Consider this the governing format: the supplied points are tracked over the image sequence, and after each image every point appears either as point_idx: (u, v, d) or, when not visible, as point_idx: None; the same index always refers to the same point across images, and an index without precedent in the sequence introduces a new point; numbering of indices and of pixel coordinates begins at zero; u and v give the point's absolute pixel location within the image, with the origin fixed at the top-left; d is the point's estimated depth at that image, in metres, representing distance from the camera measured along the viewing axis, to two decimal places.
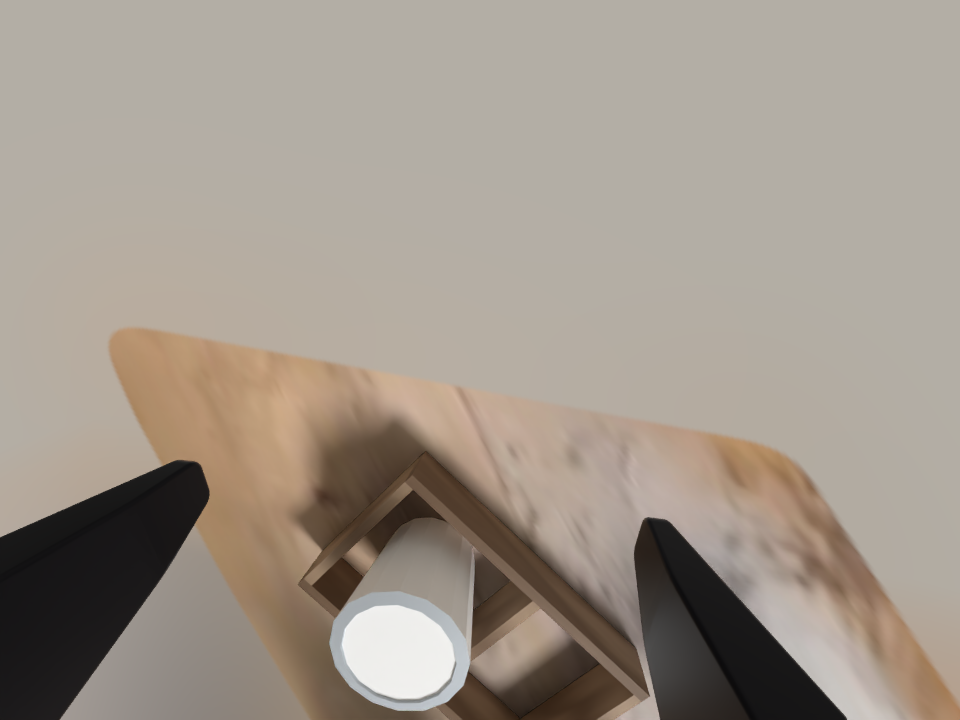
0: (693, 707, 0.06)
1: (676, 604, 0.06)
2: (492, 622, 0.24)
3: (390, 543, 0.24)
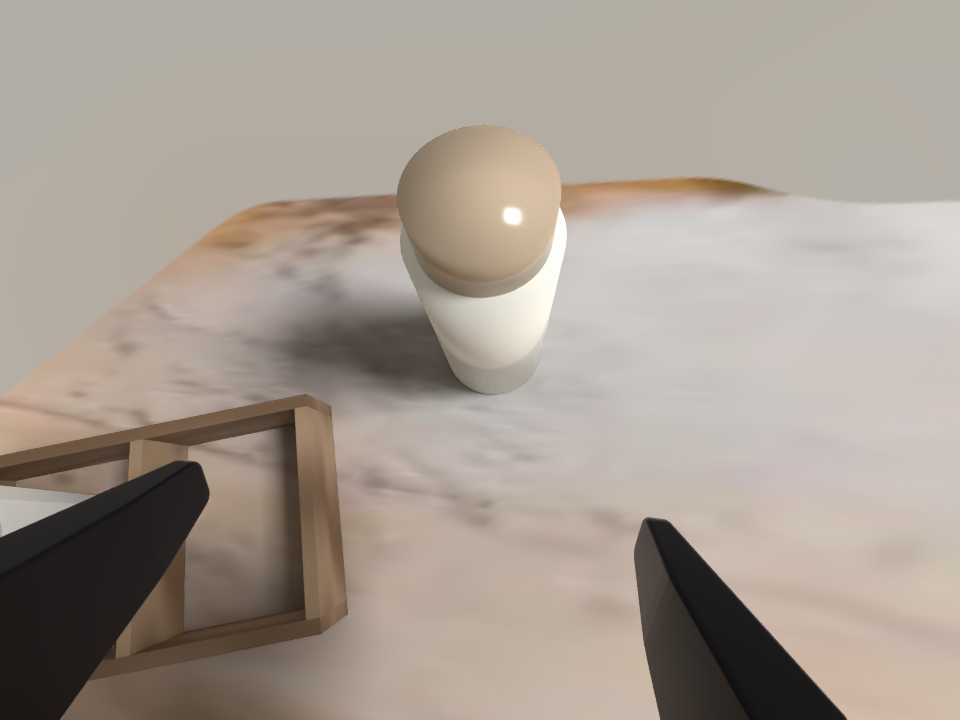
0: (693, 707, 0.06)
1: (676, 604, 0.06)
2: None
3: None
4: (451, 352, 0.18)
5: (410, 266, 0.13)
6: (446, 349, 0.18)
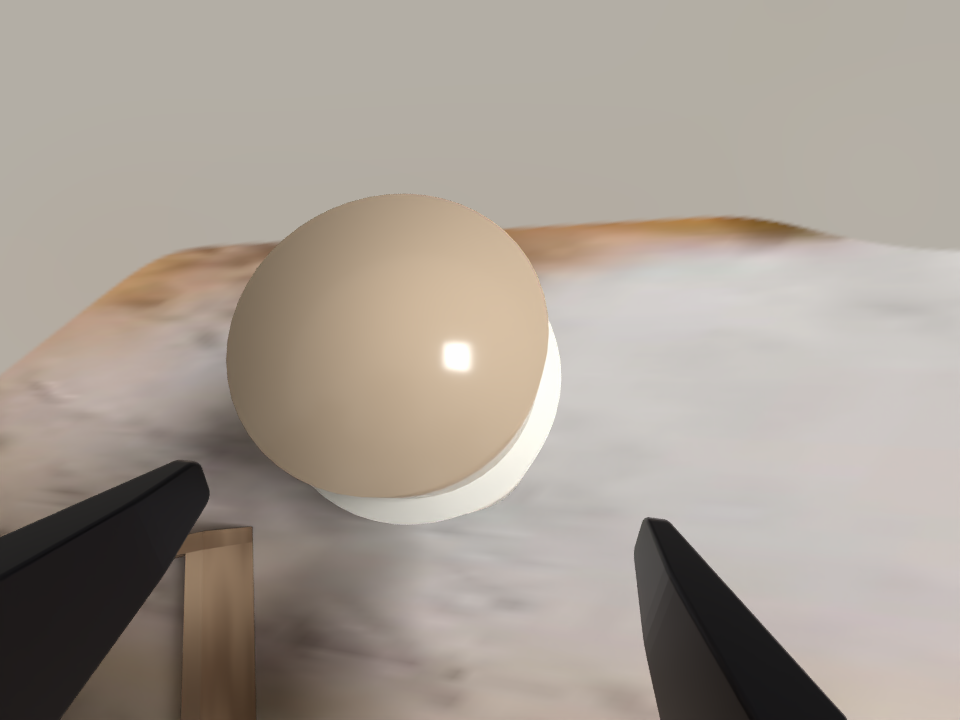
0: (693, 707, 0.06)
1: (676, 604, 0.06)
2: None
3: None
4: None
5: None
6: None
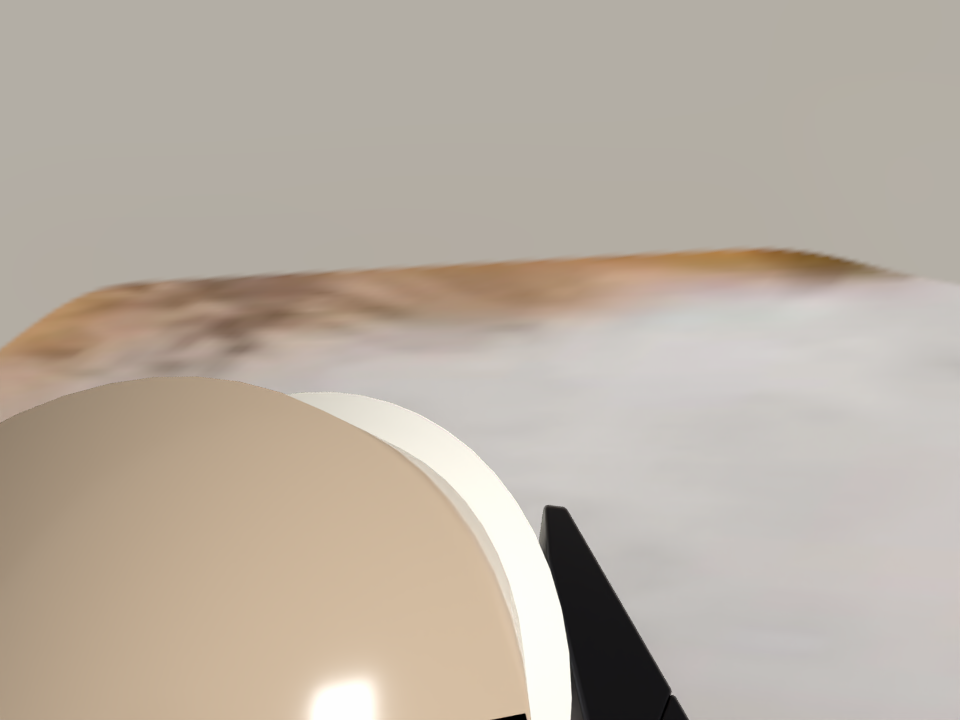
0: None
1: None
2: None
3: None
4: None
5: None
6: None
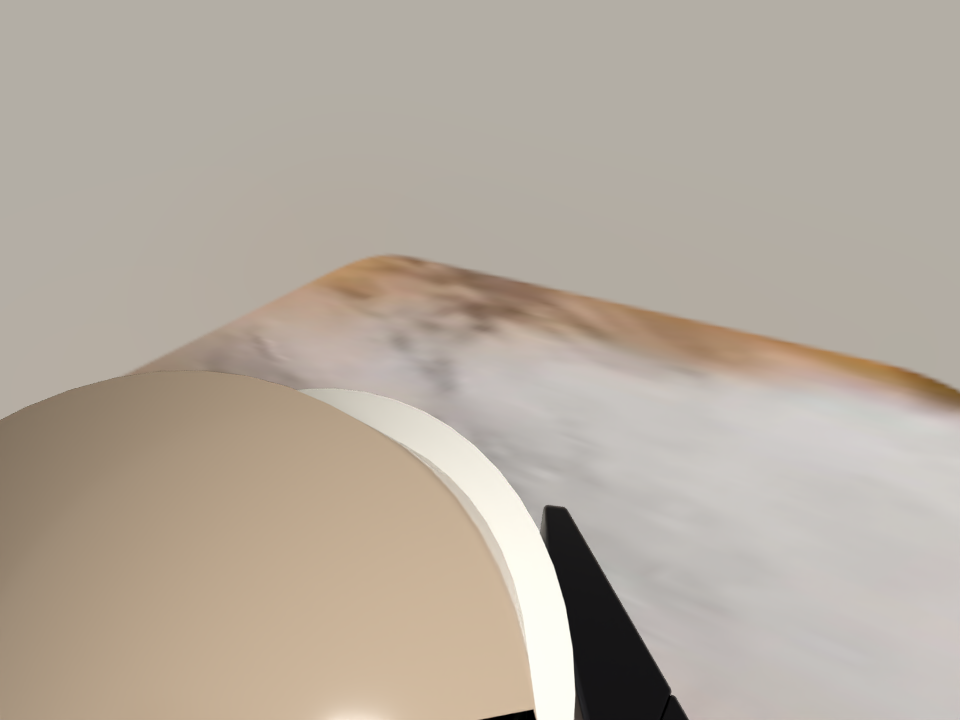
0: None
1: None
2: None
3: None
4: None
5: None
6: None
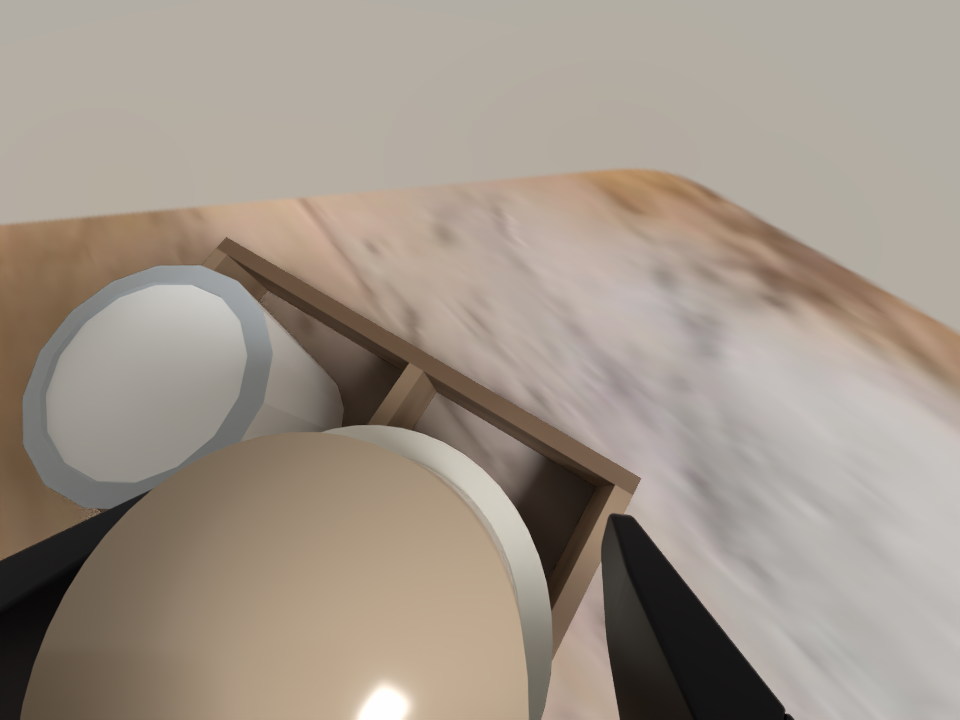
0: (644, 699, 0.06)
1: (632, 598, 0.06)
2: None
3: None
4: None
5: None
6: None
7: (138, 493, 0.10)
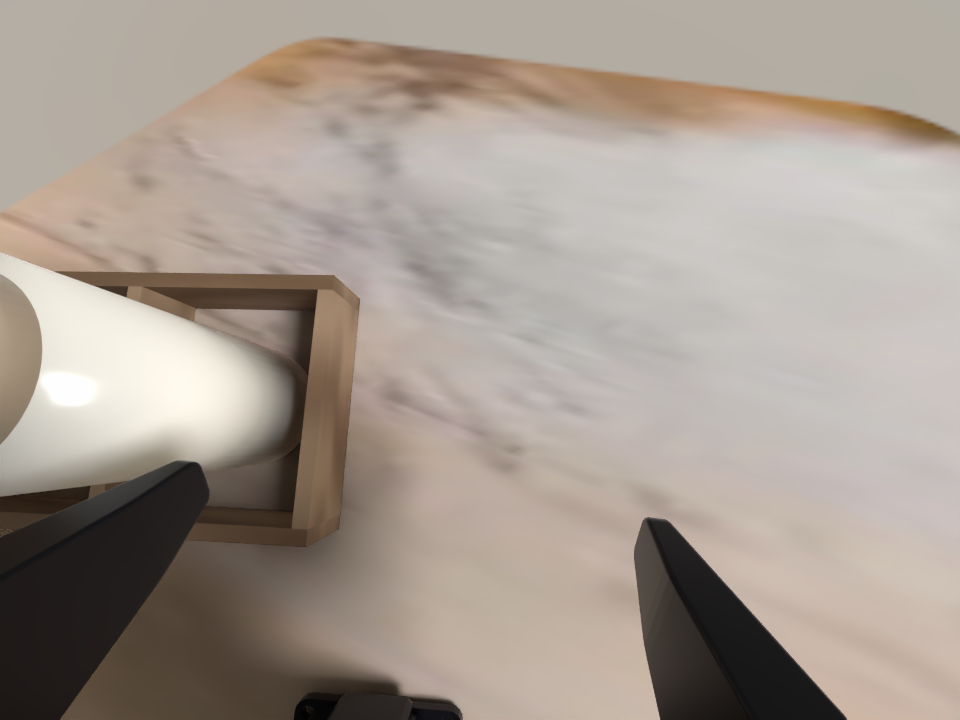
0: (693, 707, 0.06)
1: (676, 604, 0.06)
2: None
3: None
4: None
5: None
6: None
7: None
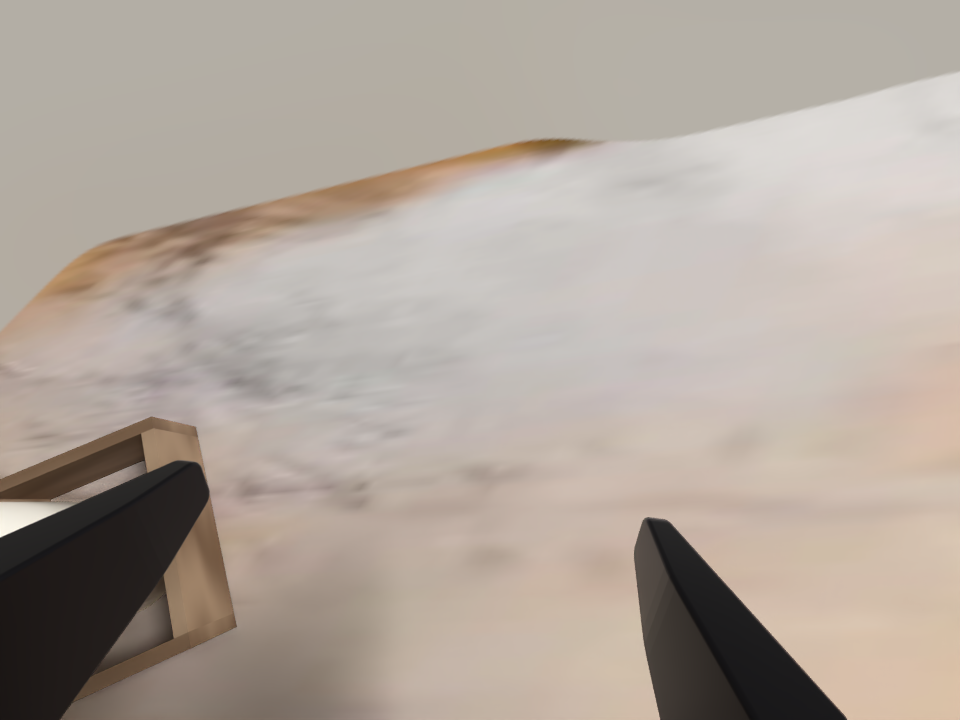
0: (693, 707, 0.06)
1: (676, 604, 0.06)
2: None
3: None
4: None
5: None
6: None
7: None
